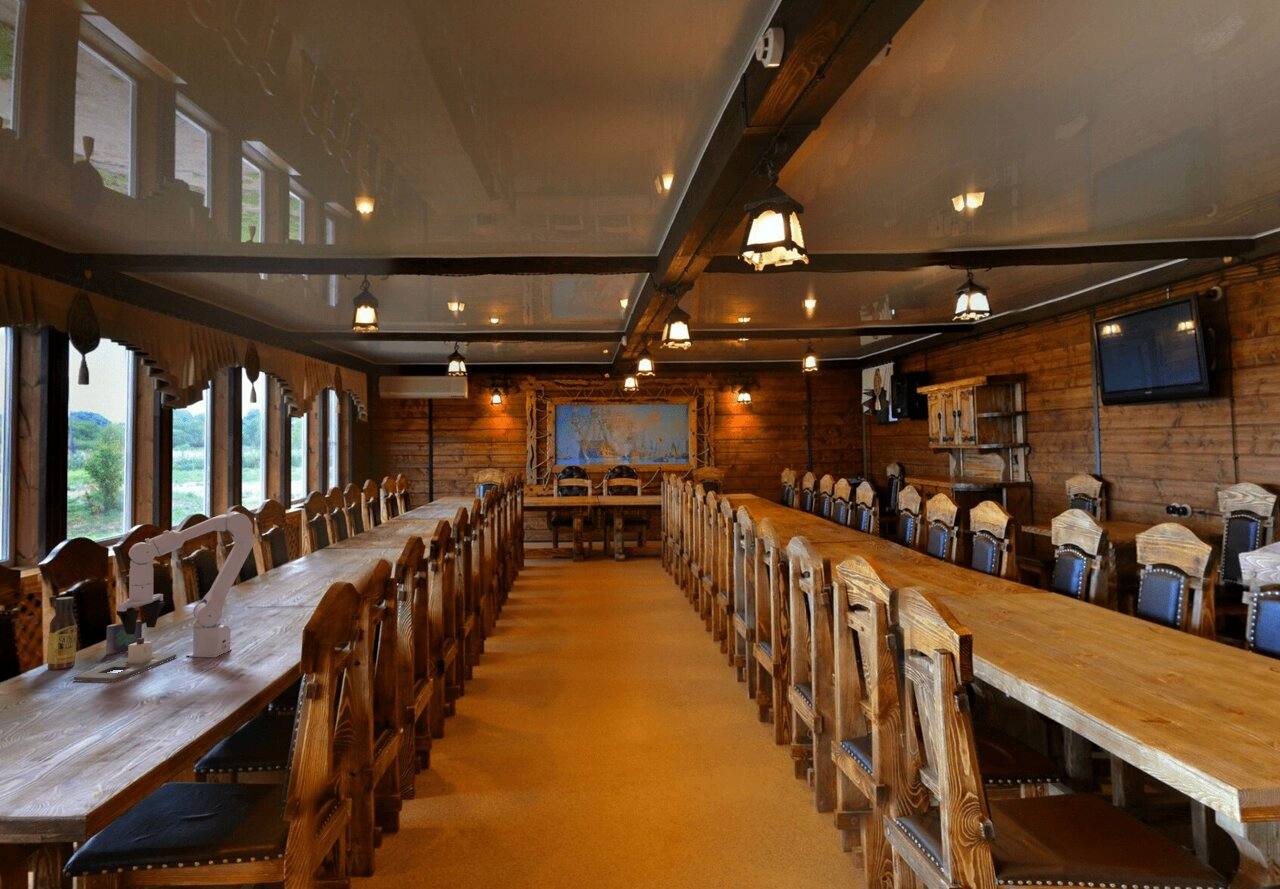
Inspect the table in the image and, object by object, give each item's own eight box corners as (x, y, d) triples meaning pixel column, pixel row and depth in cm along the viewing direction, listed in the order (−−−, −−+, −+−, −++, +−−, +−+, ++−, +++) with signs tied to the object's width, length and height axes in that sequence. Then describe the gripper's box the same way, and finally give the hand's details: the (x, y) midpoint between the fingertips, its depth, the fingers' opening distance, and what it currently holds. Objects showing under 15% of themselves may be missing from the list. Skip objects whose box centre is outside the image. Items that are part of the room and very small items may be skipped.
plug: (153, 662, 202) (154, 636, 203) (143, 666, 198) (143, 640, 199) (139, 661, 203) (139, 636, 203) (128, 665, 199) (128, 640, 199)
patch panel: (176, 658, 207) (176, 653, 207) (115, 682, 185) (115, 677, 185) (138, 657, 208) (138, 652, 208) (73, 681, 186) (73, 676, 186)
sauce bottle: (59, 671, 194) (60, 601, 194) (41, 670, 195) (42, 599, 195) (82, 664, 200) (83, 596, 200) (64, 663, 201) (65, 595, 202)
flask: (107, 656, 208) (108, 620, 209) (104, 654, 210) (104, 619, 210) (143, 649, 216) (143, 614, 216) (139, 647, 218) (139, 613, 218)
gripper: (147, 579, 208) (147, 623, 208) (107, 588, 194) (107, 636, 194) (169, 579, 208) (169, 624, 208) (131, 589, 193) (130, 637, 193)
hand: (140, 630), depth 201 cm, fingers open, 7 cm apart
